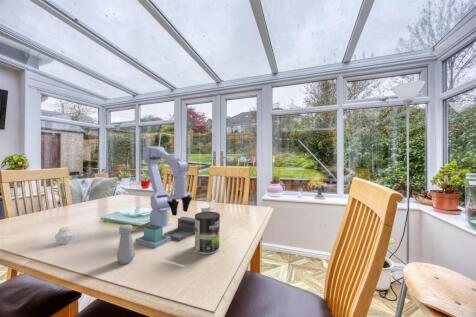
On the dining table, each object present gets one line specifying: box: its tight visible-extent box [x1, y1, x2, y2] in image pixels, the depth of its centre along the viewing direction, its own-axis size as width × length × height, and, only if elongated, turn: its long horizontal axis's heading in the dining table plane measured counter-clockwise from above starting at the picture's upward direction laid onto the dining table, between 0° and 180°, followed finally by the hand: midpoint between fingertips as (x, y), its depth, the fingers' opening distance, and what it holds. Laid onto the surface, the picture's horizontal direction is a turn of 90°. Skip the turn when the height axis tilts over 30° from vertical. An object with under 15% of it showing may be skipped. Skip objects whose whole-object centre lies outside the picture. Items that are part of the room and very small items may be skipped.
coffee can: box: [194, 211, 221, 255], centre depth 86 cm, size 10×10×14 cm
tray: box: [135, 234, 172, 249], centre depth 91 cm, size 12×9×2 cm
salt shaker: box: [116, 224, 136, 265], centre depth 75 cm, size 6×6×13 cm
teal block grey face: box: [143, 224, 164, 243], centre depth 91 cm, size 4×7×6 cm, turn 64°
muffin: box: [54, 226, 74, 246], centre depth 89 cm, size 6×6×7 cm
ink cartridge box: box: [200, 198, 216, 212], centre depth 109 cm, size 9×5×15 cm, turn 168°
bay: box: [163, 216, 195, 242], centre depth 100 cm, size 12×15×6 cm
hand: (180, 213), depth 102 cm, fingers open, 7 cm apart
